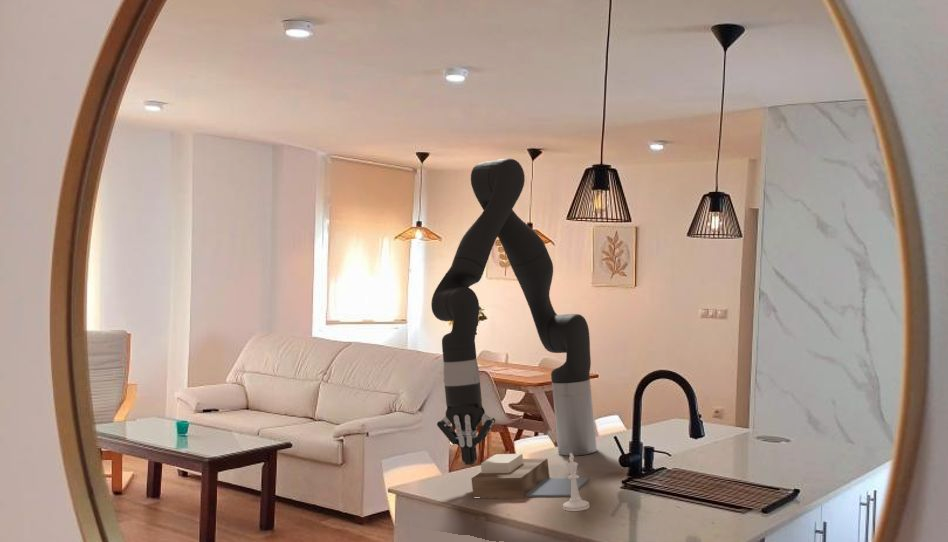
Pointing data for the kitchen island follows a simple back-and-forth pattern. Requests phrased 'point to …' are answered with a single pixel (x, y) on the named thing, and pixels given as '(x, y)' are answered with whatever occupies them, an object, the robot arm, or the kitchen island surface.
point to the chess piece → (574, 490)
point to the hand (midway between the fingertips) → (469, 463)
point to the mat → (555, 487)
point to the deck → (511, 480)
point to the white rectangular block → (502, 463)
